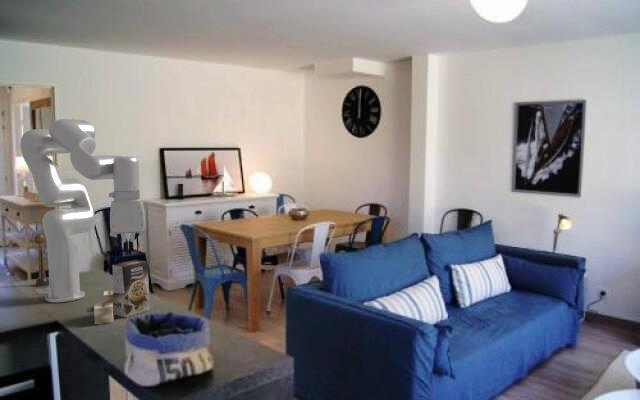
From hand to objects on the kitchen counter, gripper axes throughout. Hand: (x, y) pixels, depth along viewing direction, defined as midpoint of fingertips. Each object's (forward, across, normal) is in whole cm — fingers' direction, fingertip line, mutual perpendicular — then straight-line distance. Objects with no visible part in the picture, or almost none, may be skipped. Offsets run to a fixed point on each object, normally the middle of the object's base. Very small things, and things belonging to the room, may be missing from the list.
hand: (128, 253), depth 165 cm
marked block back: (+19, -5, +8) cm, 22 cm away
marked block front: (+19, -7, -7) cm, 21 cm away
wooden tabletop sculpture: (+20, -32, +50) cm, 63 cm away
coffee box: (+19, +1, -1) cm, 19 cm away
